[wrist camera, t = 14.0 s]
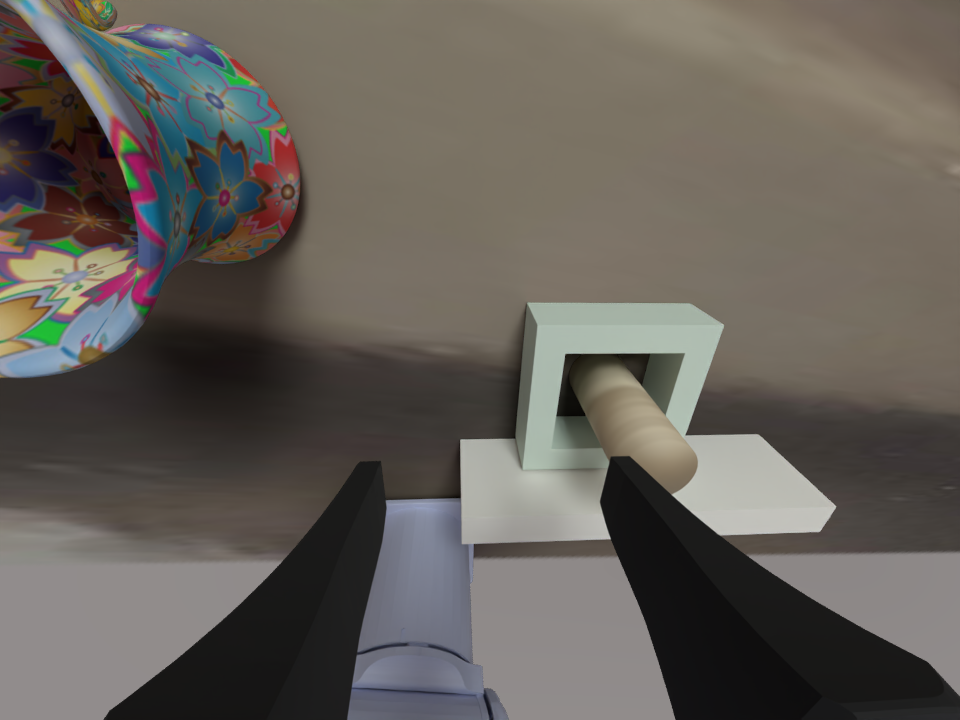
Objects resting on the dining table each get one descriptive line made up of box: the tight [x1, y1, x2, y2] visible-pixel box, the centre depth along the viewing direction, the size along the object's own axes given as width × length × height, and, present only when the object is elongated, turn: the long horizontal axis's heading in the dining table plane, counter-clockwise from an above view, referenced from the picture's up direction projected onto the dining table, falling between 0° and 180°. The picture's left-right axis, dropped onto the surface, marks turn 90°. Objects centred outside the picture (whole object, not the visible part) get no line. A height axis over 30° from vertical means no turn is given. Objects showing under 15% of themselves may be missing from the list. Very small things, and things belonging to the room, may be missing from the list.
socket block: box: [515, 303, 724, 470], centre depth 21 cm, size 9×9×3 cm
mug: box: [0, 0, 300, 378], centre depth 11 cm, size 12×9×11 cm
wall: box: [460, 434, 836, 544], centre depth 23 cm, size 2×20×6 cm, turn 89°
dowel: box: [569, 354, 698, 495], centre depth 19 cm, size 3×3×8 cm
